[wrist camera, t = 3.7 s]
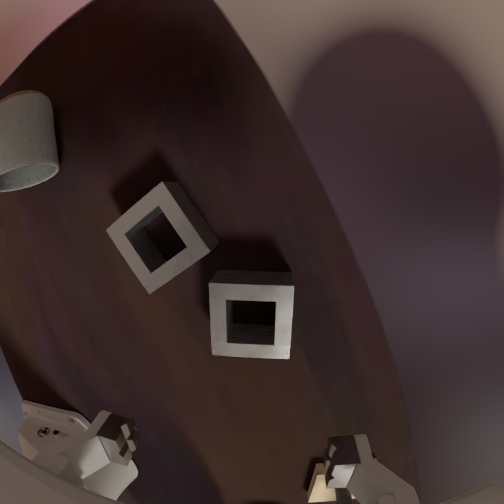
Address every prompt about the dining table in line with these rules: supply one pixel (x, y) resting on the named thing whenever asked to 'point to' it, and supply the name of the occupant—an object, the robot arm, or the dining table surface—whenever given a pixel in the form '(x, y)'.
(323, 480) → the block
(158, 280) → the white square box
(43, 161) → the ceramic mug
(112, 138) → the dining table surface
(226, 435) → the dining table surface
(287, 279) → the end link
